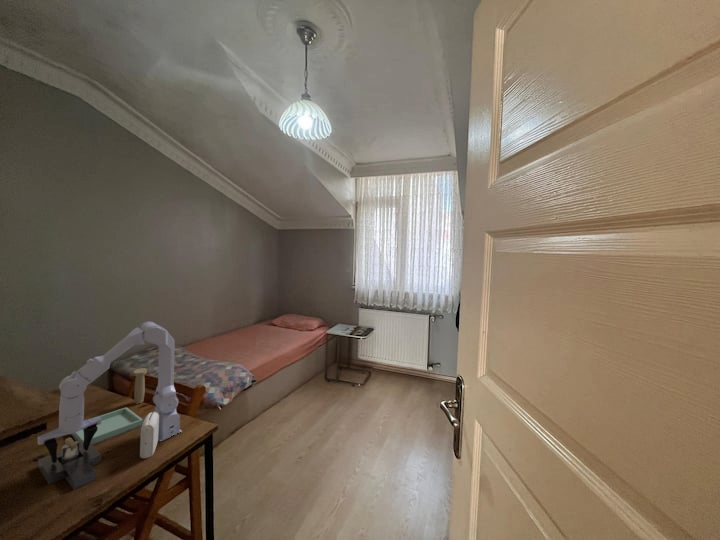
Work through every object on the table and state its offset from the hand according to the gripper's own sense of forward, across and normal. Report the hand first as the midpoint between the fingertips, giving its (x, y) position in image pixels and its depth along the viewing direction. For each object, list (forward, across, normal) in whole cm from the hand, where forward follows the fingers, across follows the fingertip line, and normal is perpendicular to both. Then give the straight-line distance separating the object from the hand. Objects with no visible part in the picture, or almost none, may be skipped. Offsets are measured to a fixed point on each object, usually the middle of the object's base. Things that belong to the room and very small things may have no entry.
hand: (70, 455), depth 94 cm
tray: (+3, -14, -15) cm, 21 cm away
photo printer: (+3, -18, +11) cm, 21 cm away
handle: (+3, -30, -29) cm, 42 cm away
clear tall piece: (+3, 0, 0) cm, 3 cm away
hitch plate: (+3, 0, +4) cm, 5 cm away
